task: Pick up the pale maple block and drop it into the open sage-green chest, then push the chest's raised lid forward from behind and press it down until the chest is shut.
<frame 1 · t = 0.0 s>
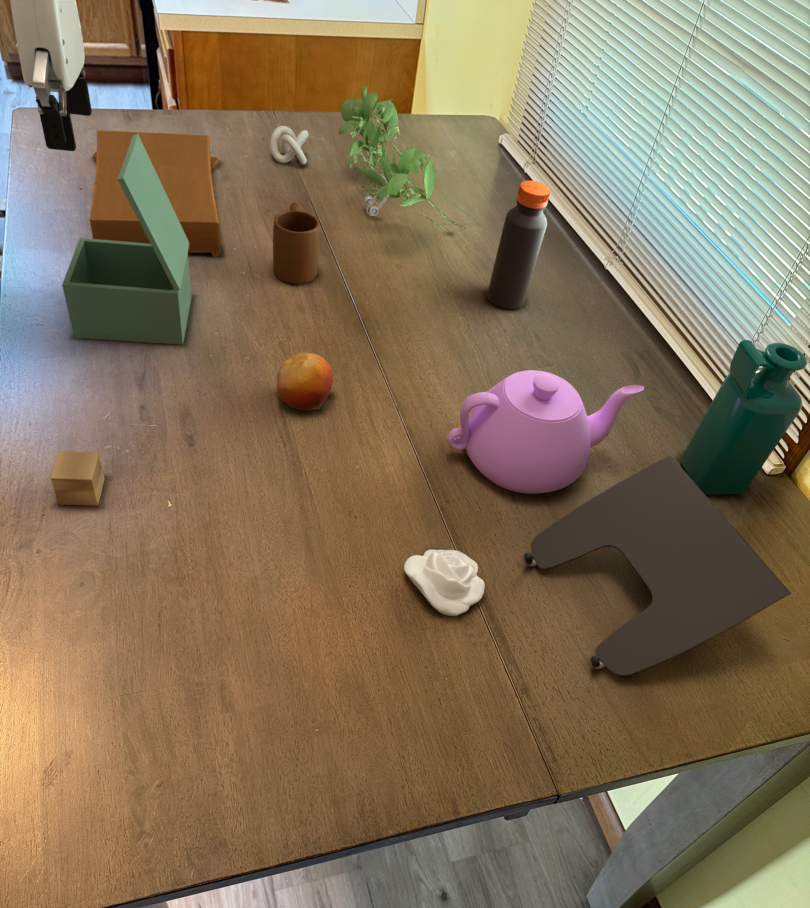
hand: (70, 130, 93), 29 cm above the table, tool pointing down, fingers open, 9 cm apart
chest: (135, 316, 119), on the table
plant cuttings: (394, 214, 151), on the table
wooden box: (158, 205, 141), on the table
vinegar: (505, 300, 136), on the table
lid: (156, 214, 107), point 17 cm above the table, hinge at 70.0°
mug: (294, 267, 134), on the table
block: (82, 491, 95), on the table
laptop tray: (622, 595, 96), on the table
knot: (288, 160, 159), on the table
dark green tall bottle: (707, 476, 113), on the table
teapot: (528, 457, 110), on the table
fruit: (304, 399, 112), on the table
rose: (441, 585, 94), on the table
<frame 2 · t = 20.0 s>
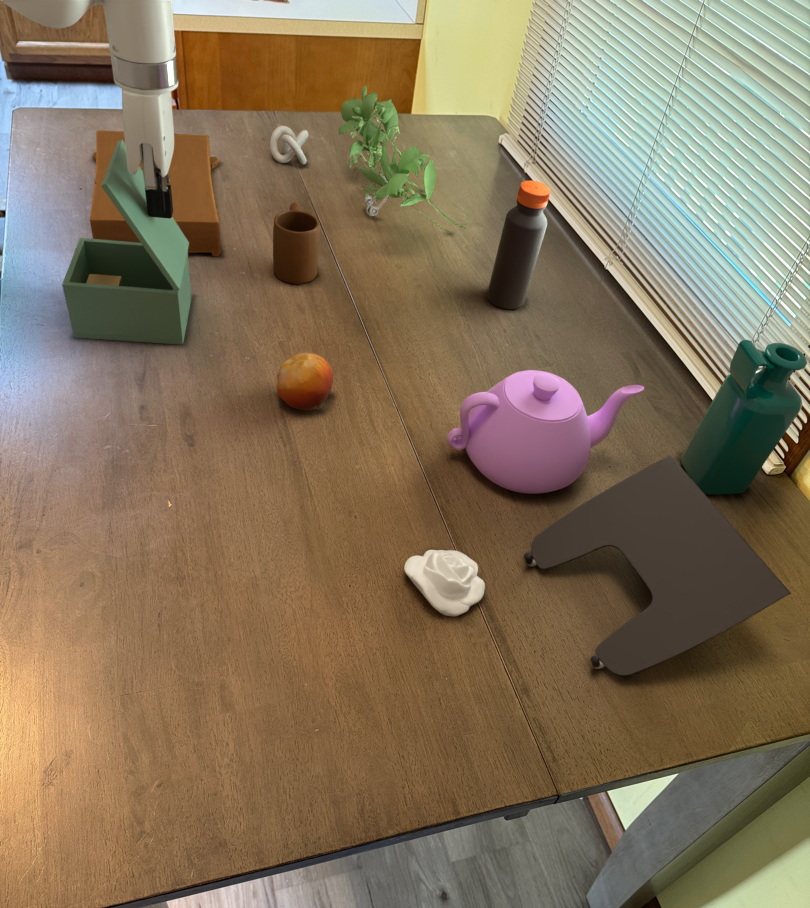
hand: (160, 214, 107), 17 cm above the table, tool pointing down, fingers closed
lid: (149, 217, 107), point 16 cm above the table, hinge at 61.6°
block: (107, 310, 117), point 1 cm above the table, touching chest
everything else where it was.
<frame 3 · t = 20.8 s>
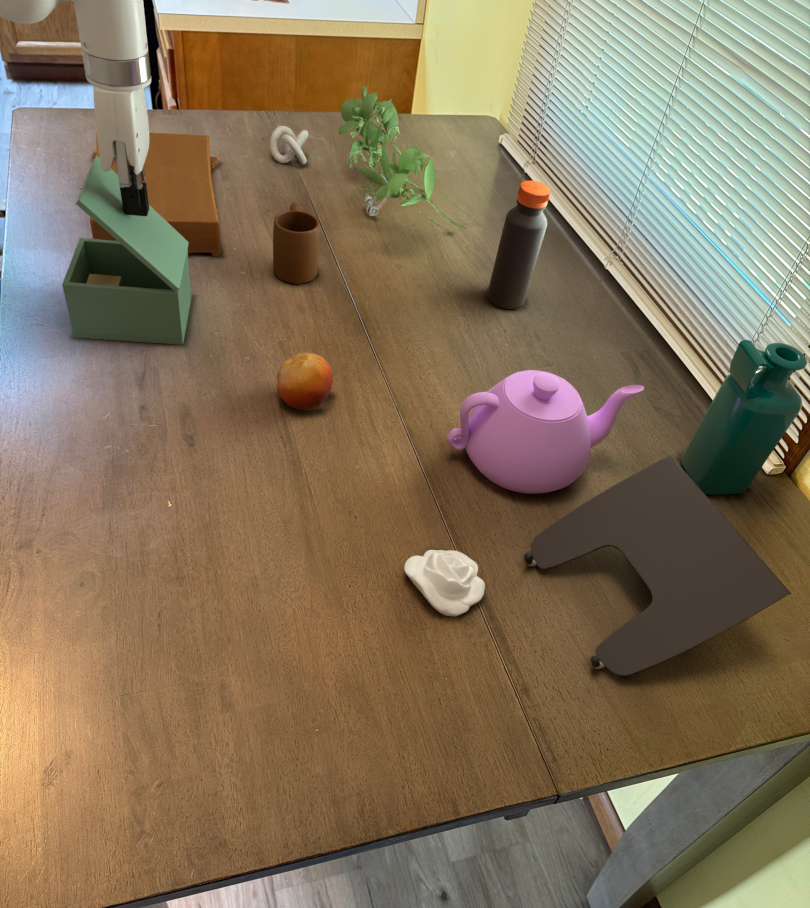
hand: (136, 212, 106), 17 cm above the table, tool pointing down, fingers closed
lid: (136, 224, 107), point 15 cm above the table, hinge at 46.0°, touching gripper
everything else where it was.
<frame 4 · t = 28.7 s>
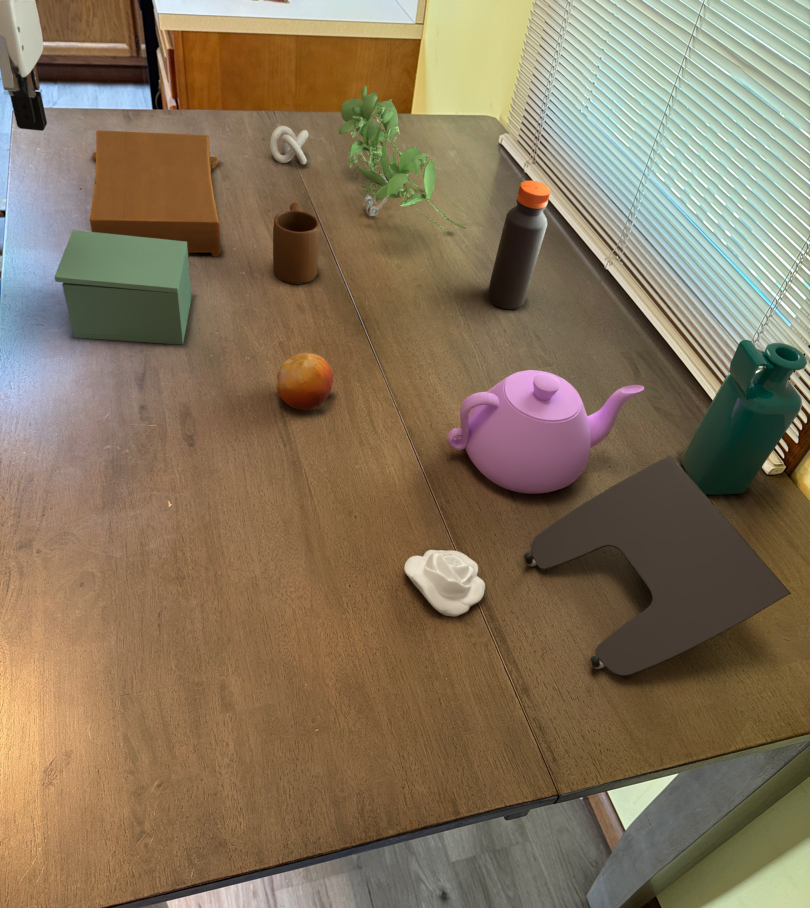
hand: (32, 126, 97), 27 cm above the table, tool pointing down, fingers closed
lid: (124, 260, 111), point 9 cm above the table, hinge at 1.0°
everything else where it was.
at the end: block inside the target area in the chest (4.0 cm from its centre), point 0.8 cm above the chest's base; lid at +1° (first picture: +70°) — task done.
